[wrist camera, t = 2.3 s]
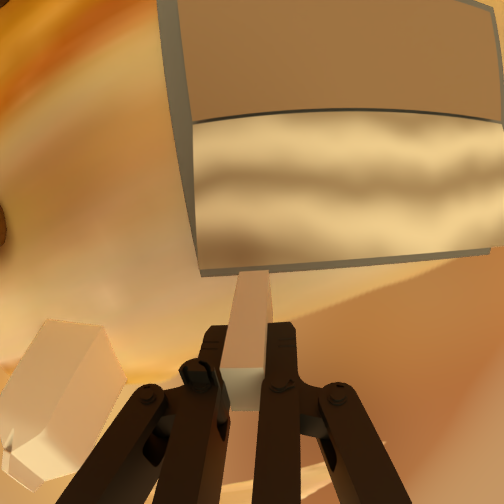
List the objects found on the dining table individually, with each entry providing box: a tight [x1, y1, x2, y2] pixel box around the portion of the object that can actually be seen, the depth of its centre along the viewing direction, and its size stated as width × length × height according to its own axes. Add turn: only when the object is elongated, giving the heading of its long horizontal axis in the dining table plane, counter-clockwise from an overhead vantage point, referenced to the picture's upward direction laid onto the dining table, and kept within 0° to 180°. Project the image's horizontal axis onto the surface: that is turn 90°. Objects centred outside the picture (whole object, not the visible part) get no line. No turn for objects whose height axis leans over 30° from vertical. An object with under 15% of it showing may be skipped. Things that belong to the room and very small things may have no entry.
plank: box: [193, 111, 504, 270], centre depth 23 cm, size 12×30×2 cm, turn 98°
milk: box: [0, 319, 127, 492], centre depth 32 cm, size 12×12×26 cm
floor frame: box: [157, 0, 504, 277], centre depth 24 cm, size 30×35×3 cm
